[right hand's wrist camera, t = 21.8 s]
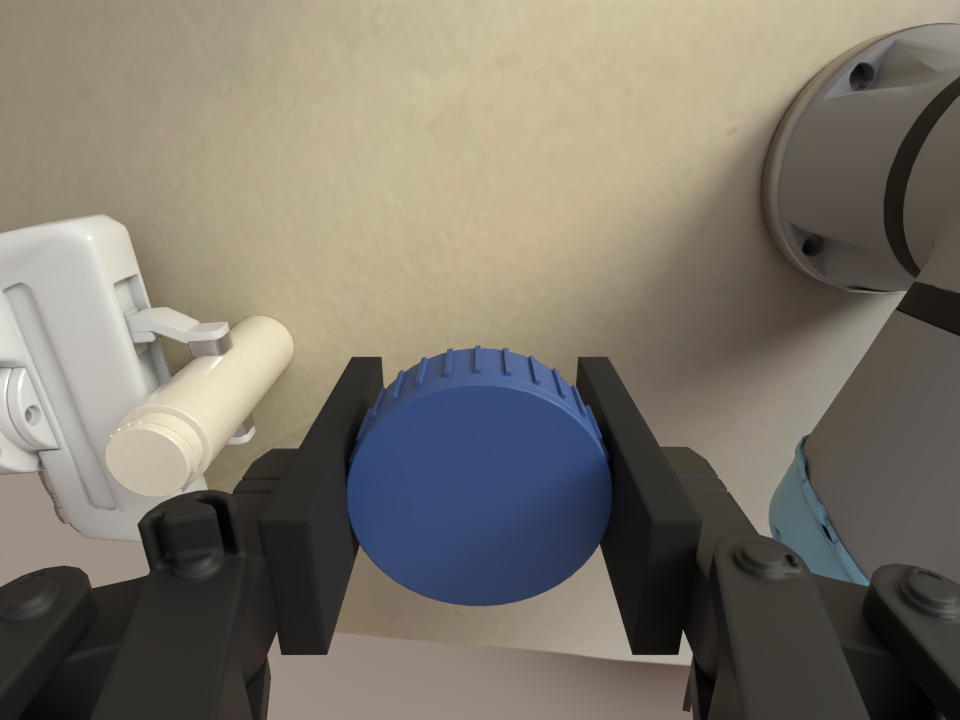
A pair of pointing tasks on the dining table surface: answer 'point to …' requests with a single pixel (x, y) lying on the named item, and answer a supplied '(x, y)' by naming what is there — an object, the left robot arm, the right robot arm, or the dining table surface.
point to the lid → (479, 479)
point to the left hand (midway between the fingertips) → (238, 382)
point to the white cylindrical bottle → (197, 411)
